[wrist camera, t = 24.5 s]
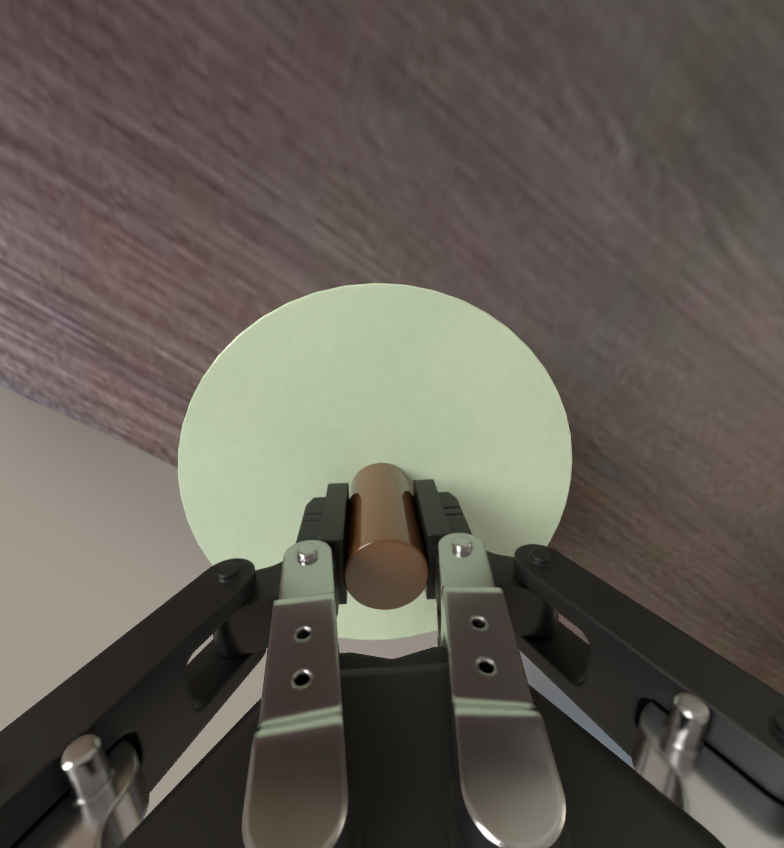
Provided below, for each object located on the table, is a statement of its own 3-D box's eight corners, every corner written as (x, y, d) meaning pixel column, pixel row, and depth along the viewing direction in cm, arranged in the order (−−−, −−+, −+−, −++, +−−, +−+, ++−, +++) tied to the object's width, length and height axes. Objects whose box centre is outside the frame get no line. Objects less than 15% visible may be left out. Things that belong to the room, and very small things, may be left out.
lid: (583, 279, 15) (721, 276, 9) (539, 610, 20) (611, 745, 14) (153, 286, 14) (4, 288, 8) (221, 629, 19) (158, 780, 13)
